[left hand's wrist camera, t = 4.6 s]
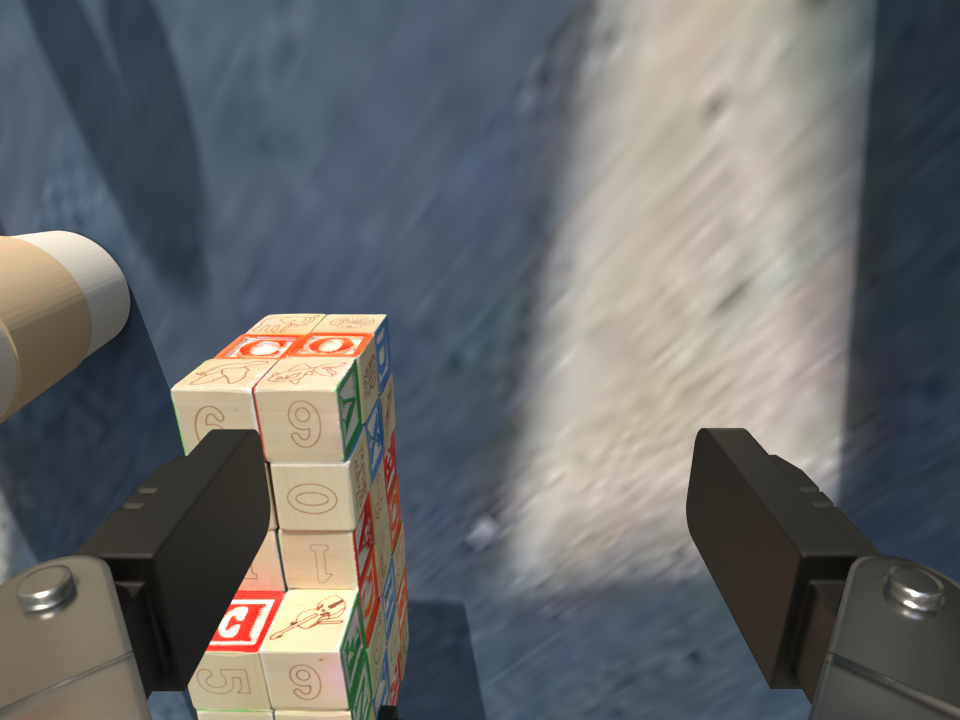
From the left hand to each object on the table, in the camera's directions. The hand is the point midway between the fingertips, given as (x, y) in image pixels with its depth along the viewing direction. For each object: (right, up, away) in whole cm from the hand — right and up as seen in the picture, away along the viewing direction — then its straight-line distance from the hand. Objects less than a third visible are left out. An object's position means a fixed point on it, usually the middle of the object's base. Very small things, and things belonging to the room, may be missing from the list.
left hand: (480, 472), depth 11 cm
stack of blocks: (-8, -5, +23) cm, 24 cm away
